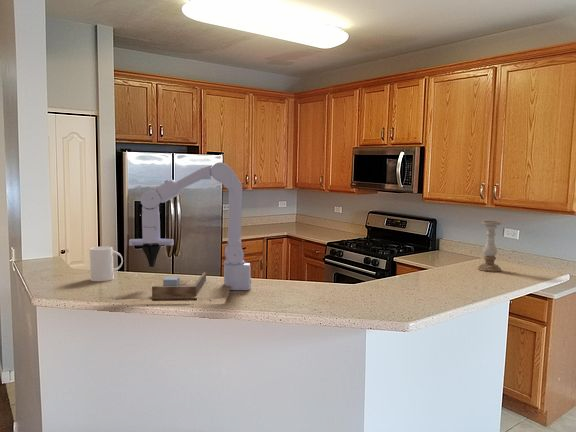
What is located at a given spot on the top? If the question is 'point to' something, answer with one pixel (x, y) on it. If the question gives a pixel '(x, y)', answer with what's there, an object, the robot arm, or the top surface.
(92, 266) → the mug
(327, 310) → the top surface
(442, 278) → the top surface
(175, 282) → the block
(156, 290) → the board
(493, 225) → the candle holder
